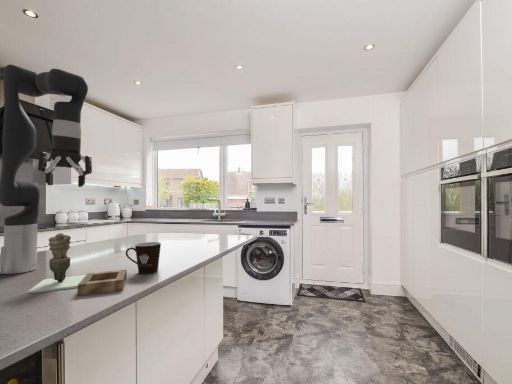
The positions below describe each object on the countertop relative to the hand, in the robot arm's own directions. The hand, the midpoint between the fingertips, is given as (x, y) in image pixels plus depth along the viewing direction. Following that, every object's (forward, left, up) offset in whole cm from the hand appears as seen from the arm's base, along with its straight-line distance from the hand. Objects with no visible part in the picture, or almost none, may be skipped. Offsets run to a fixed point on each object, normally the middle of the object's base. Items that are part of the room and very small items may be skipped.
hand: (65, 185), depth 85 cm
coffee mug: (+24, +1, -31) cm, 39 cm away
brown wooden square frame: (+13, -12, -31) cm, 36 cm away
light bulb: (-1, -4, -30) cm, 31 cm away
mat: (0, -4, -31) cm, 31 cm away
